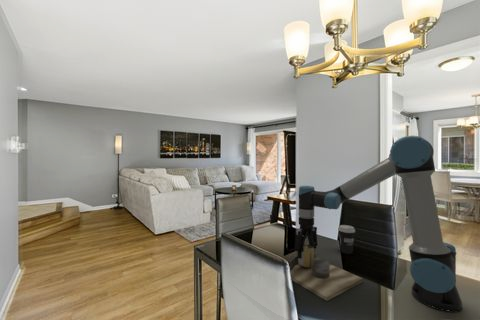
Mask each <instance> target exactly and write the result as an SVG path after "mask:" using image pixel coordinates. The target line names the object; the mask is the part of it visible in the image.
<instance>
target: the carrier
mask: <svg viewBox="0 0 480 320" xmlns="http://www.w3.org/2000/svg"><path fill="white" fill-rule="evenodd" d="M304 247H309V246H307V245H305V246H304ZM316 255H317V254H316V253H315V252H314V259H312V266H311V267H304V266H302V265H300V264H298V254H296V255H294V256H292V257H290V259H289V260H288V261H287V264H288V263H289V266H290V270H291V277H292V280H291V281H292V282H294V283H296V284H297V285H299V286H301V287H303V288H304V289H306V290H308V291H309V292H311V293H313V294H314V295H316V296H317V297H320V298H321V299H322V300H325V301H326V302H328V301H330V300H331V299H334V298H335V297H338V296H339V295H341V294H343V293H345V292H346V291H347V292H348V291H349V290H350V289H352V288H355V287H356V286H358V285H360V284H361V283H364V279H363V277H361V276H358V275H356V274H353V273H351V272H349V271H346V270H345V269H342V268H340V267H338V266H335V265H333V264H330V261H329V260H328V259H326V258H323V257H317V256H316Z"/></svg>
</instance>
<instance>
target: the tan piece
mask: <svg viewBox="0 0 480 320" xmlns="http://www.w3.org/2000/svg"><path fill="white" fill-rule="evenodd" d="M305 245H307V246H309V247H304V246H305ZM304 246H303V251H302V252H304V265H303V266H304V267H311V266H312V259H314V253H315V248H314V246H313V245H311V244H309V242H308V243H305V242H304Z"/></svg>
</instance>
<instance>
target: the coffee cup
mask: <svg viewBox="0 0 480 320" xmlns="http://www.w3.org/2000/svg"><path fill="white" fill-rule="evenodd" d="M337 230H338V236H339V247H340V248H339V249H340V252H341V253H342V254H345V255H346V254H347V255H351V254H353V252H354V241H355V233H356V229H355V227H354V226H352V225H349V224H348V225H347V224H341V225H339V226H338V228H337Z"/></svg>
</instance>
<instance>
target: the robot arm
mask: <svg viewBox="0 0 480 320" xmlns="http://www.w3.org/2000/svg"><path fill="white" fill-rule="evenodd" d="M434 161H435V160H434V148H433V146H432V144H431V143H430V142H429V141H427V139H425V138H424V137H422V136H419V135H407V136H402V137H400V138H398V139H397V140H395V142H394V143H393V144H392V145H391V147H390V149H389V155H388V158H386V159H384V160H382V161H380V162H378V163H377V164H375V165H374V166H372V167H370V168H368V169H367V170H365V171H363V172H361V173H360V174H358V175H357V176H355V177H353V178H351V179H350V180H348V181H346V182H345V183H342V184H341V185H339V186H338V187H337V186H336V188H334V189H331V190H328V191H327V190H326V191H318V190H315V187H314V186H311V185H300V186H299V187H298V194H297V195H298V225H299V228H298V229H297V230H296V229H295V231H294V234H295V237H294V248H293V250H294V251H295V252H297V255H298V264H300V265H302V266H303V265H304V252H302V251H303V246H304V243H305V241H306V239H307V241H308V243H309V244H311V245H313V246H314V250H316V249H317V247H318V234H317V233H318V231H317V229H318V227H317V226H315V208H316V207H317V208H323V209H328V210H338V209H339V208H340V206H341V204H344V203H345V202H346V201H349V200H350V199H352V198H354V197H355V196H358V195H359V194H361V193H363V192H366V190H369V189H371V188H372V187H373V188H374V186H376V185H378V184H380V183H382V182H384V181H386V180H387V179H390V178H391V177H393V176H395V175H396V176H398V177H399V178H401V181H402V182H401V183H402V188H403V192H404V198H405V204H406V209H407V210H406V211H407V216H408V221H409V222H408V223H409V227H410V231H411V232H410V233H411V238H412V243H411V244H410V245H409V246H408V250H409V255H410V262H411V263H410V266H409V267H410V268H409V271H410V275H411V277H412V279H413V284H412V286H411V295H412V294H413V295H412V296H413V297H414V298H415V299H416V298H417V299H418V300H419V301H418V300H417V299H416V300H417V301H418V302H420V301H421V302H420V303H422V302H423V303H425V304H427V305H426V306H428V305H430V306H433V307H435V308H438V309H437V310H439V309H443V310H449V311H457V312H459V311H458V310H460V311H462V309H463V300H462V298H461V296H460V294H459V290H458V288H457V286H456V285H457V284H456V283H457V279H456V277H457V276H456V275H457V271H456V268H457V266H456V265H457V263H456V261H457V259H456V257H457V252H456V251H457V250H456V249H457V248H456V247H455V245H453V244H450V243H448V242H445V241H444V239H443V235H442V229H441V223H440V218H439V212H438V208H437V202H436V197H435V191H434V186H433V182H432V181H433V180H432V177H431V176H432V175H433V174H434V173H435V172H436V168H435V162H434ZM423 303H422V304H423ZM425 304H424V305H425ZM430 306H429V307H430ZM433 307H432V308H433ZM435 308H434V309H435ZM461 308H462V309H461ZM443 310H442V311H443ZM449 311H448V312H449Z"/></svg>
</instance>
